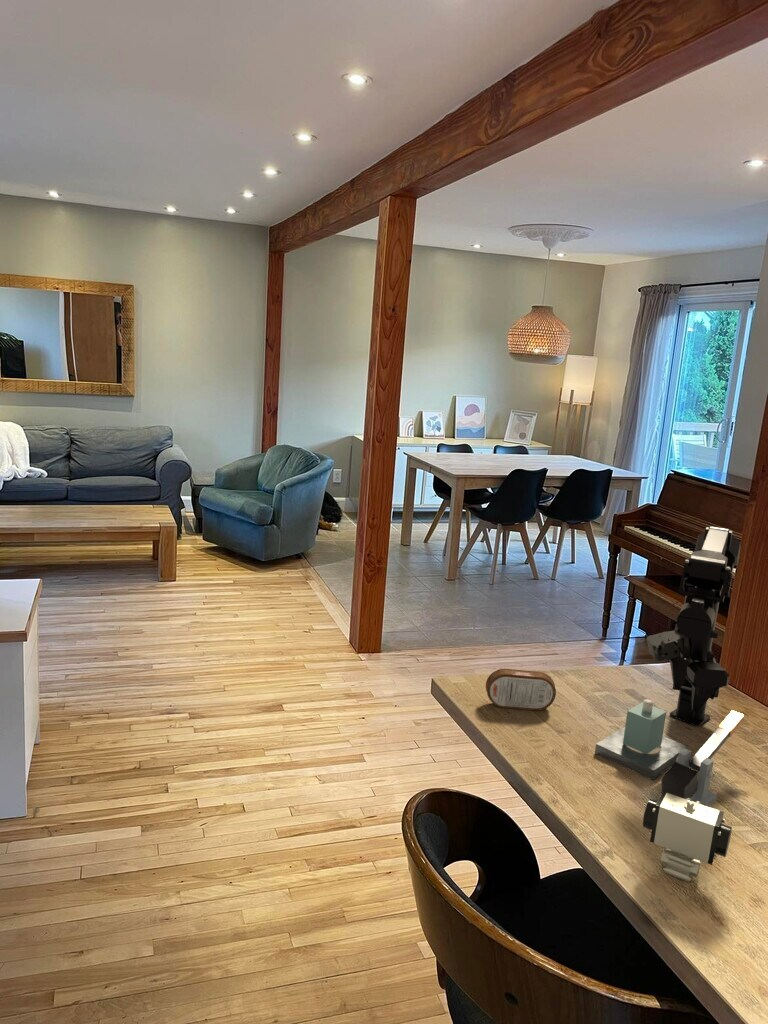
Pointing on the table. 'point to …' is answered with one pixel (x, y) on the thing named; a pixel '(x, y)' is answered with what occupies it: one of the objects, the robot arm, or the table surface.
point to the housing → (644, 727)
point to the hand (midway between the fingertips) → (685, 699)
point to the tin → (520, 689)
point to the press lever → (699, 760)
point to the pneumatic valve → (686, 833)
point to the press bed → (640, 755)
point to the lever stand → (700, 778)
